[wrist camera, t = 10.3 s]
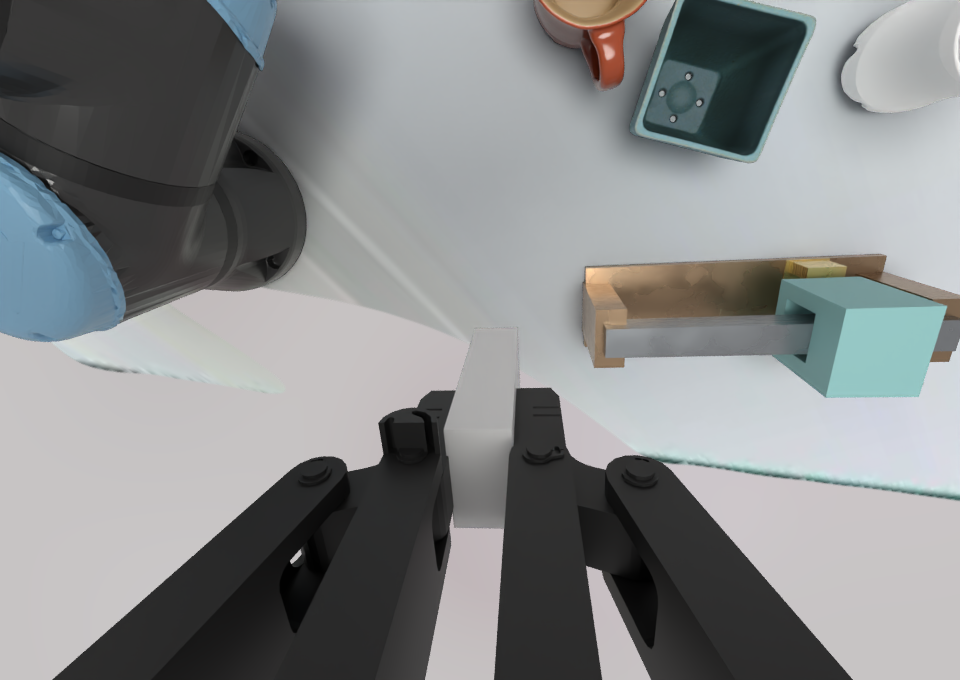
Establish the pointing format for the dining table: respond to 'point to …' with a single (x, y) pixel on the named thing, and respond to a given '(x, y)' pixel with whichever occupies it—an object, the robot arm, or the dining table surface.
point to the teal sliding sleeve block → (861, 336)
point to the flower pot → (721, 76)
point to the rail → (723, 307)
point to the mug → (591, 33)
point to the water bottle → (907, 58)
